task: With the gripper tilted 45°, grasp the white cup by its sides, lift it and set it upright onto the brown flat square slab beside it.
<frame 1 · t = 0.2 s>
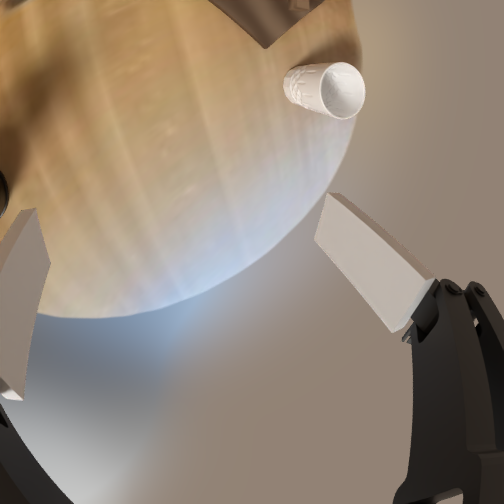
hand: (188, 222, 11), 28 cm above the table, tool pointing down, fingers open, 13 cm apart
white cup: (300, 85, 36), on the table
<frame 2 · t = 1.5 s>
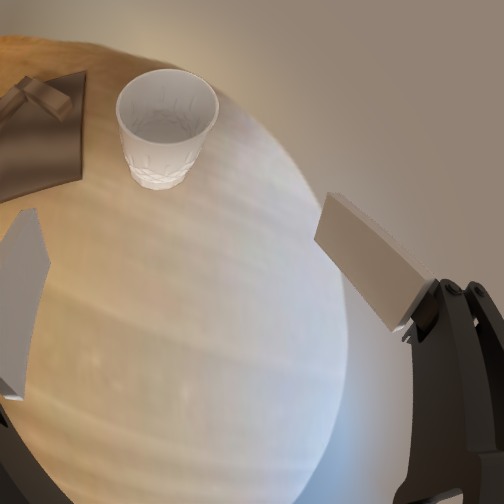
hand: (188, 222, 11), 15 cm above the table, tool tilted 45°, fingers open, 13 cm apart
white cup: (159, 162, 27), on the table
brown flat square slab: (21, 149, 21), on the table
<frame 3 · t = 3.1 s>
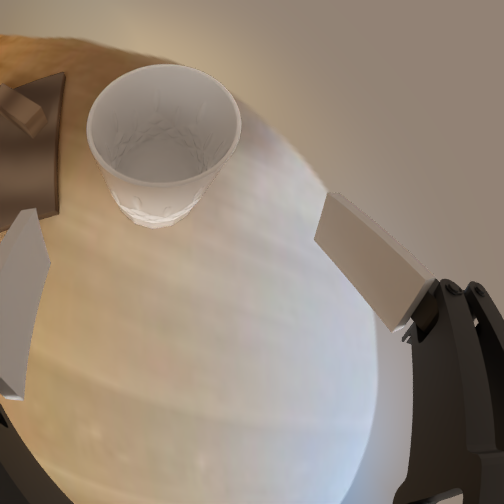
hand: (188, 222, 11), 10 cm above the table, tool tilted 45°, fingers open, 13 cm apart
white cup: (156, 189, 21), on the table
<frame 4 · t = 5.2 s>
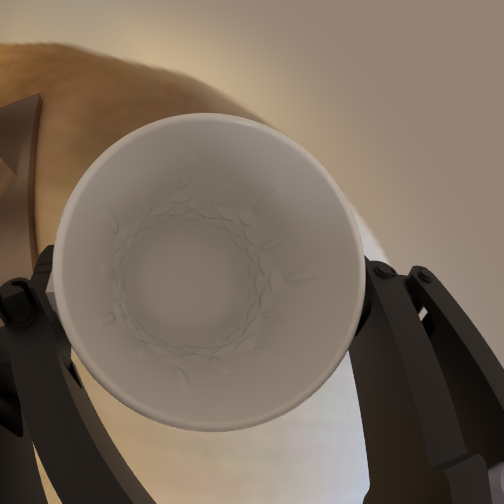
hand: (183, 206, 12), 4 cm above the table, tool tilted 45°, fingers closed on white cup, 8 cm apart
white cup: (182, 285, 15), on the table, touching gripper
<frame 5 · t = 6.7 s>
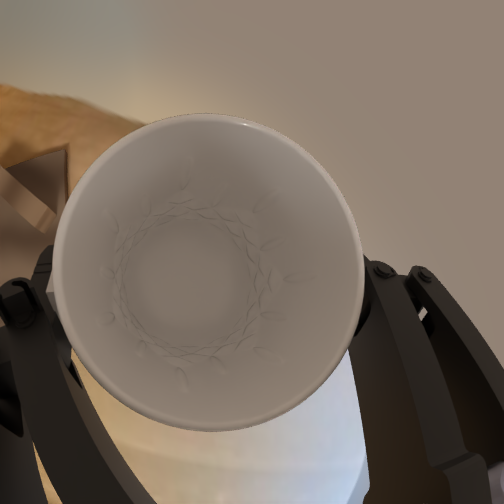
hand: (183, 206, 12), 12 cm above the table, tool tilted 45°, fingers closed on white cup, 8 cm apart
white cup: (182, 285, 15), point 8 cm above the table, touching gripper
brown flat square slab: (4, 264, 18), on the table
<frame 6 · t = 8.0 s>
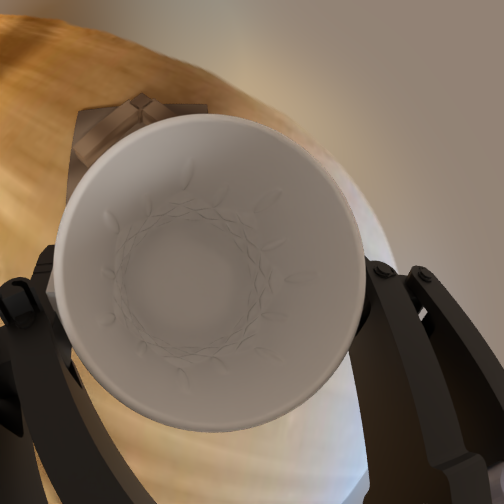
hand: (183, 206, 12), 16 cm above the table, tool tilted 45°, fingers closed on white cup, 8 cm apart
white cup: (183, 285, 15), point 12 cm above the table, touching gripper
brown flat square slab: (138, 179, 27), on the table
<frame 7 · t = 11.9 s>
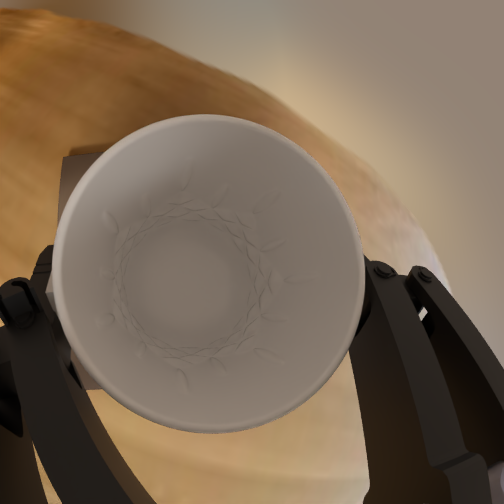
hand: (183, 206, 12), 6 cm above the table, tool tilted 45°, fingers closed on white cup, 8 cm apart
white cup: (182, 286, 15), point 2 cm above the table, touching gripper
brown flat square slab: (180, 286, 18), on the table
when the fingers open (6 cm above the table, at t = 11.9 s): white cup drops 1 cm, resting on brown flat square slab.
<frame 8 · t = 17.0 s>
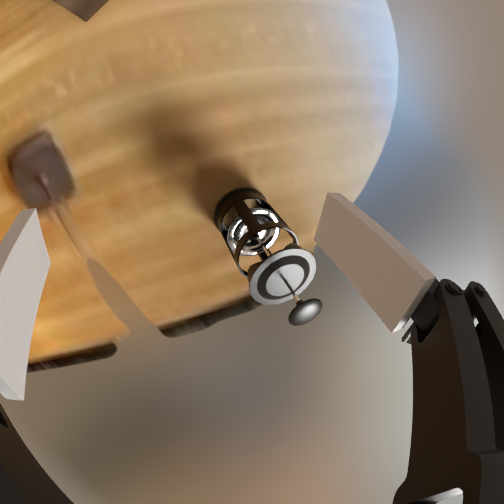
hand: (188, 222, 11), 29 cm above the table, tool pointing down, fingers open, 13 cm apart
french press: (242, 214, 47), on the table
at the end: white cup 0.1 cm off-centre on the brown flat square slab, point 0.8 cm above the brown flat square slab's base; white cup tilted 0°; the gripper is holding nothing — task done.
